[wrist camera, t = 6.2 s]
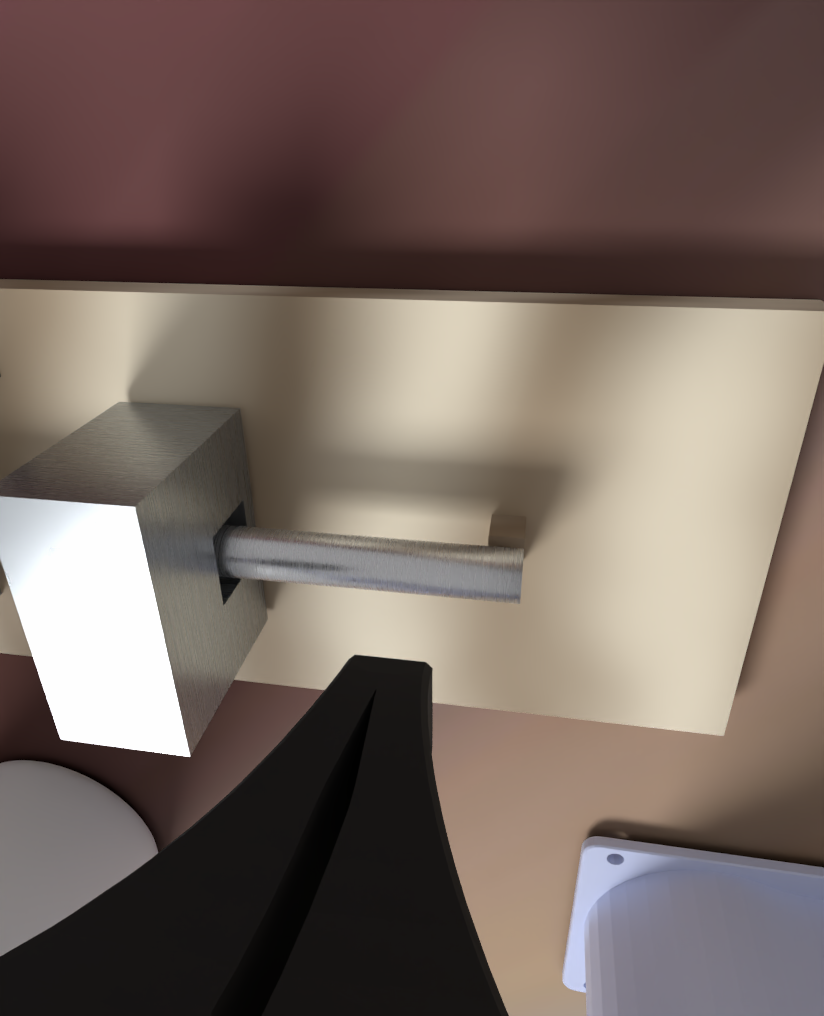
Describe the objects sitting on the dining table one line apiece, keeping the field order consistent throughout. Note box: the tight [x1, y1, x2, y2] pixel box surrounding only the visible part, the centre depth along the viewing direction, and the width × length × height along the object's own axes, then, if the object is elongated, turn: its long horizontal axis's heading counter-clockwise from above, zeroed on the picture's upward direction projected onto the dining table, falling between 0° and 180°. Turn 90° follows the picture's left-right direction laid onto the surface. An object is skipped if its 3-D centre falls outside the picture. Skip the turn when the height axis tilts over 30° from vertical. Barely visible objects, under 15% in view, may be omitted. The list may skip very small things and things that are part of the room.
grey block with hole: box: [0, 402, 268, 757], centre depth 16 cm, size 3×6×5 cm, turn 1°
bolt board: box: [0, 279, 824, 736], centre depth 16 cm, size 23×11×6 cm, turn 91°
